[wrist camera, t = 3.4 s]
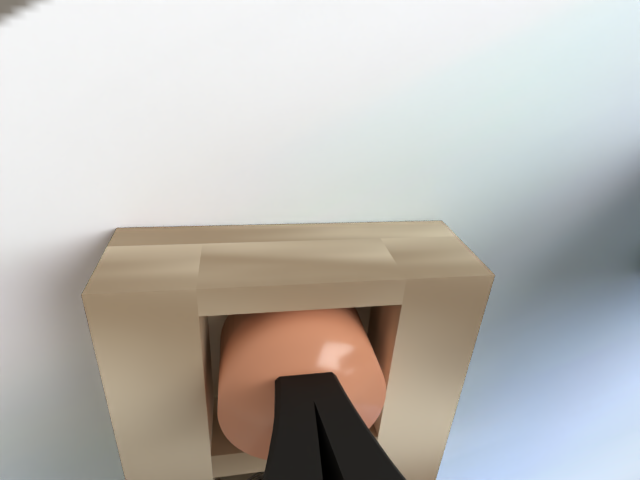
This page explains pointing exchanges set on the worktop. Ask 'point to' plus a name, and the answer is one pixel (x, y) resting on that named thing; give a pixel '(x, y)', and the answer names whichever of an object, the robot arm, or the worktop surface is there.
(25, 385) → the worktop surface
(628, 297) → the worktop surface
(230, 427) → the terracotta button
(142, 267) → the light wooden flat frame
